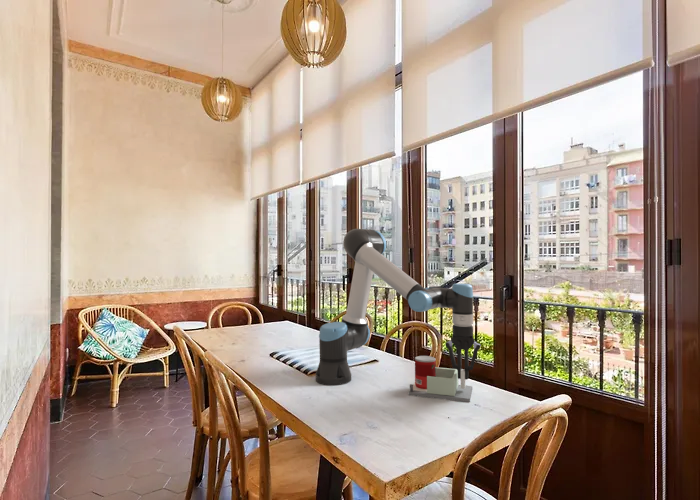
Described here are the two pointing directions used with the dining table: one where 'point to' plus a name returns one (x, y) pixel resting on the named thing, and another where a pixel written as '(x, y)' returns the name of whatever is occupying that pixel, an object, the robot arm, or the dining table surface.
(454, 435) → the dining table surface
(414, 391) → the base
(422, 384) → the canned food
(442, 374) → the housing
